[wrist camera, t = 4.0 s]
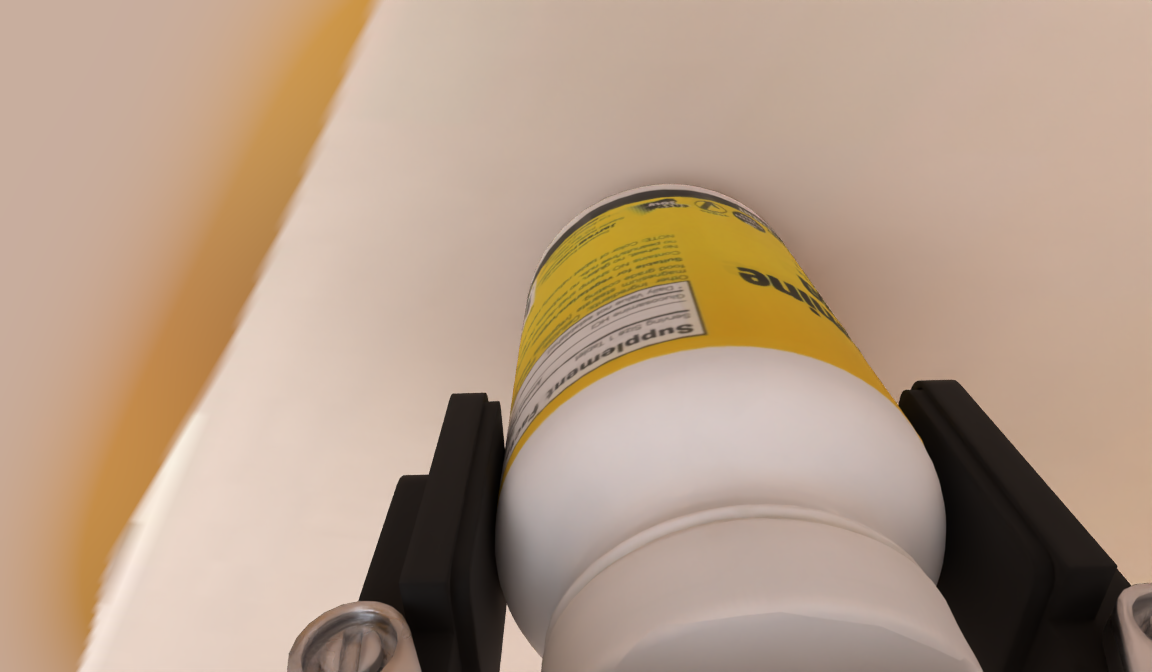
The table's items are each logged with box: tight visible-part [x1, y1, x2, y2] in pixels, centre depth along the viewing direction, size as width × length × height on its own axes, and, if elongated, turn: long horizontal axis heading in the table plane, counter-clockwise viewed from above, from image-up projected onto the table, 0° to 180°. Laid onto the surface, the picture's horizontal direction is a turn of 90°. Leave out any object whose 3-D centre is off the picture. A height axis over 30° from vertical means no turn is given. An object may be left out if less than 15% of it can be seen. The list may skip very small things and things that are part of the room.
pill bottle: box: [495, 184, 983, 672], centre depth 12 cm, size 6×6×11 cm
